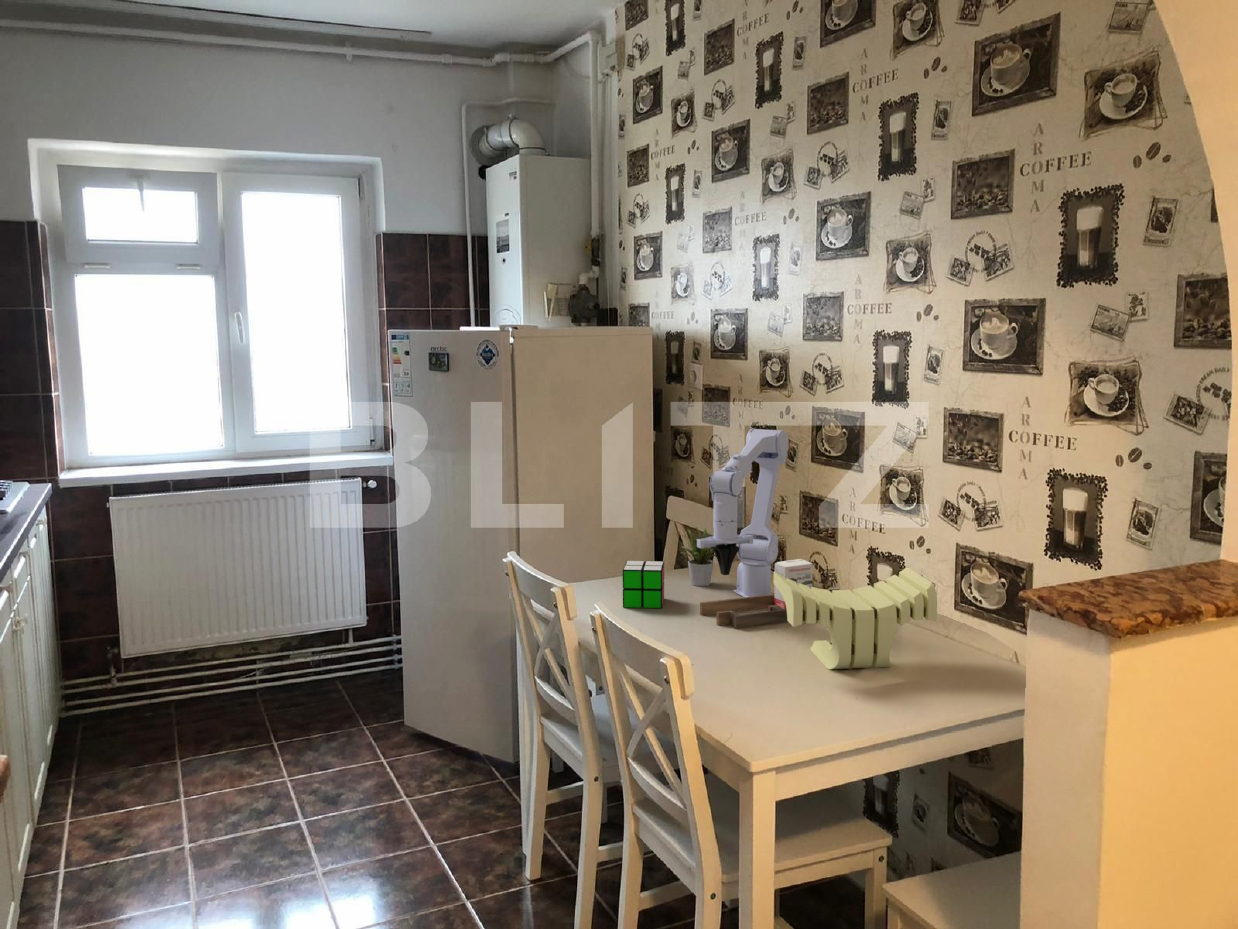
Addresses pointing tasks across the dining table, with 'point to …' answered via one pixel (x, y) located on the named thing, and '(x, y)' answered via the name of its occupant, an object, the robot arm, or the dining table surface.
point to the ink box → (793, 576)
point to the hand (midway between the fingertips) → (724, 574)
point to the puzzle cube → (643, 584)
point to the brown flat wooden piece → (728, 607)
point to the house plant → (699, 561)
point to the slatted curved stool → (859, 616)
